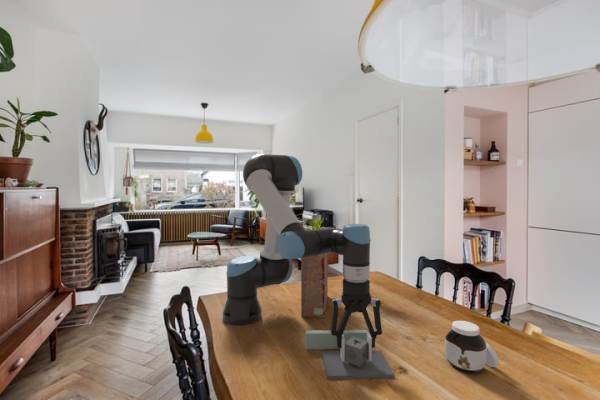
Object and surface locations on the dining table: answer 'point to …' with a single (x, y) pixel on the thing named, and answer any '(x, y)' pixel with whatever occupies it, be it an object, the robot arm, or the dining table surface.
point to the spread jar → (468, 348)
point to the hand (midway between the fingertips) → (355, 358)
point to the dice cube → (356, 351)
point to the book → (314, 285)
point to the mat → (356, 367)
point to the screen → (330, 338)
